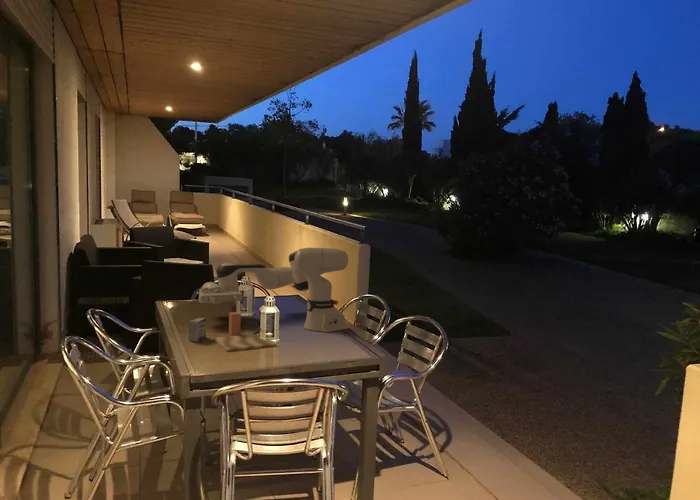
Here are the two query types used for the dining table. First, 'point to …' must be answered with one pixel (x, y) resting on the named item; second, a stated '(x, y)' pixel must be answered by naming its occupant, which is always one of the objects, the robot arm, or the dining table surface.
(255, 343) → the birch board
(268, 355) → the dining table surface
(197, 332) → the medicine box
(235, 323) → the terracotta block
